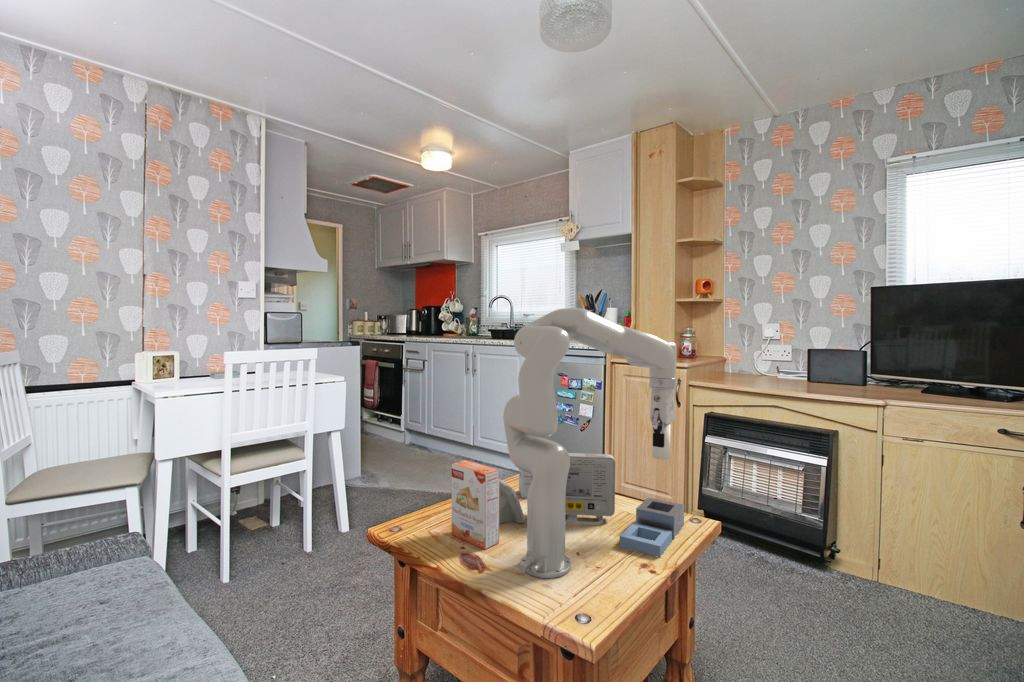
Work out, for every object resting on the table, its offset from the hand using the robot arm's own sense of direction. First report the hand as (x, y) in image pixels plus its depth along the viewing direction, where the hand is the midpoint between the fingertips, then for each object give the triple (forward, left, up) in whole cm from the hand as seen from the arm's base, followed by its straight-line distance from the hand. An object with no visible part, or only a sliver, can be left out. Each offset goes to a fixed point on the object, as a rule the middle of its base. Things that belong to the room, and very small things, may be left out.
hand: (661, 444), depth 146 cm
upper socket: (0, 0, -25) cm, 25 cm away
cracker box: (-37, +41, -26) cm, 61 cm away
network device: (-8, +25, -26) cm, 37 cm away
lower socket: (-13, 0, -25) cm, 28 cm away
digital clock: (-18, +43, -26) cm, 53 cm away
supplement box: (+3, +47, -26) cm, 54 cm away
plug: (0, 0, -4) cm, 4 cm away
